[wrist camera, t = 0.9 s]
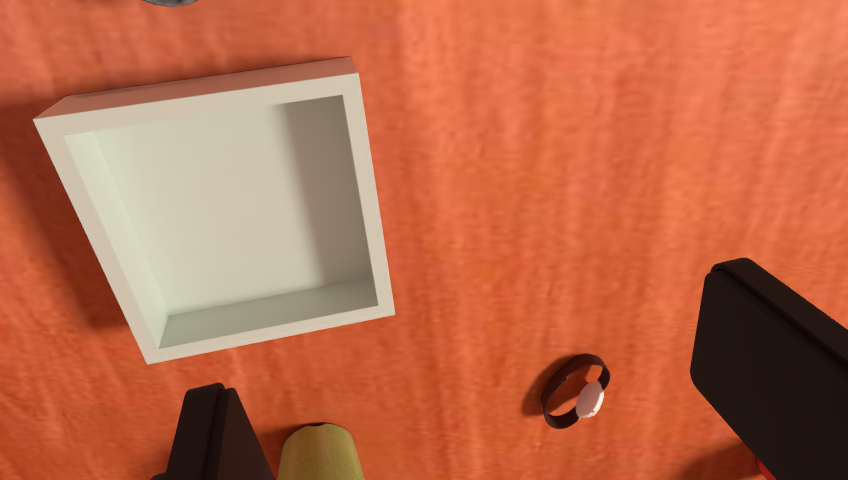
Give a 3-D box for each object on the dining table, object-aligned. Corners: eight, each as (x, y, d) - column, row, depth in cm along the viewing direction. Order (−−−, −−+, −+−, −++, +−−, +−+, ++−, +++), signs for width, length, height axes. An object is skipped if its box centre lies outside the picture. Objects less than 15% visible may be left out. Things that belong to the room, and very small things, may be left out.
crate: (66, 96, 30) (32, 119, 26) (351, 56, 32) (358, 72, 28) (162, 321, 38) (147, 364, 34) (385, 278, 40) (395, 314, 36)
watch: (562, 415, 52) (578, 445, 49) (524, 404, 50) (539, 434, 47) (611, 357, 50) (632, 385, 47) (573, 342, 48) (592, 370, 45)
